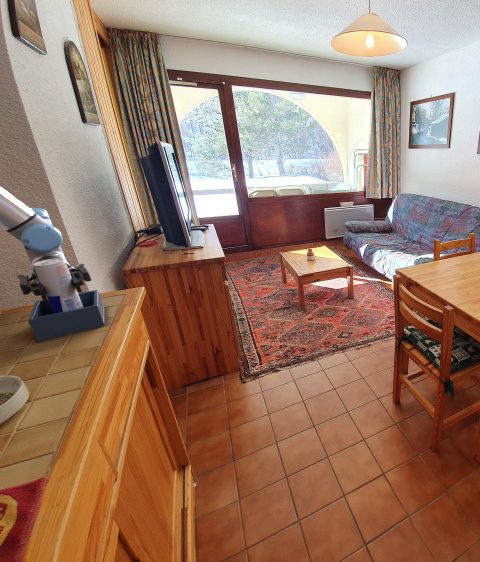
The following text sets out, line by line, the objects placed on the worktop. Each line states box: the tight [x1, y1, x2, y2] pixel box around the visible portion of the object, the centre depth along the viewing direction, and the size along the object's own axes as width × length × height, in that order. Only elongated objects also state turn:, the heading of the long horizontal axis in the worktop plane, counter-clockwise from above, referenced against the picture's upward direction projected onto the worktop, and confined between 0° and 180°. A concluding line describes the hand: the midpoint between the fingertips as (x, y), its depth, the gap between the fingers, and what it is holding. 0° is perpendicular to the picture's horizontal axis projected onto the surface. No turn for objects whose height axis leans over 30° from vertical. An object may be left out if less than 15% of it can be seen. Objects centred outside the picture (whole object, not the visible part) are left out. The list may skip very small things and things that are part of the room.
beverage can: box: [33, 258, 84, 314], centre depth 79 cm, size 6×6×15 cm
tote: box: [27, 289, 106, 343], centre depth 82 cm, size 13×13×6 cm
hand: (61, 291), depth 75 cm, fingers closed on beverage can, 6 cm apart
